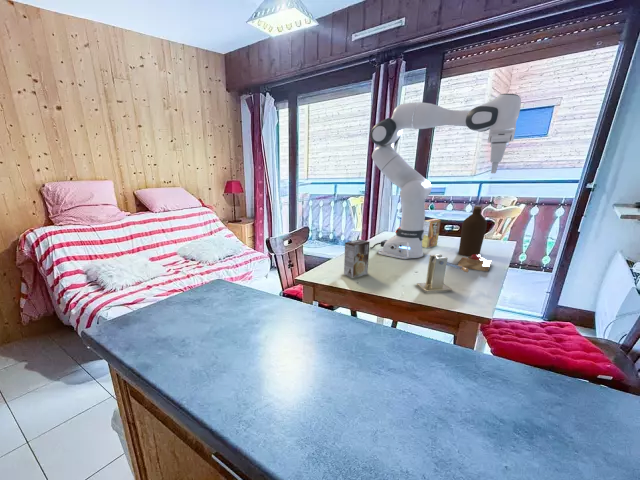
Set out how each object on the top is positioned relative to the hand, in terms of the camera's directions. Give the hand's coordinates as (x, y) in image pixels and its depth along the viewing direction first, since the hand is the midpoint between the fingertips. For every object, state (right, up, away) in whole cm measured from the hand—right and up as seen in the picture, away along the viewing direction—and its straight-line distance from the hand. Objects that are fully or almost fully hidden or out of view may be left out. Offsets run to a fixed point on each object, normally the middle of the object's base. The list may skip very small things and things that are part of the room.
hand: (493, 172), depth 141 cm
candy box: (-3, -26, +48) cm, 55 cm away
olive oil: (+9, -33, +30) cm, 45 cm away
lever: (-27, -42, -12) cm, 51 cm away
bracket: (-31, -51, -8) cm, 60 cm away
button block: (0, -40, +13) cm, 42 cm away
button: (0, -37, +12) cm, 39 cm away
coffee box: (-57, -45, +11) cm, 73 cm away
